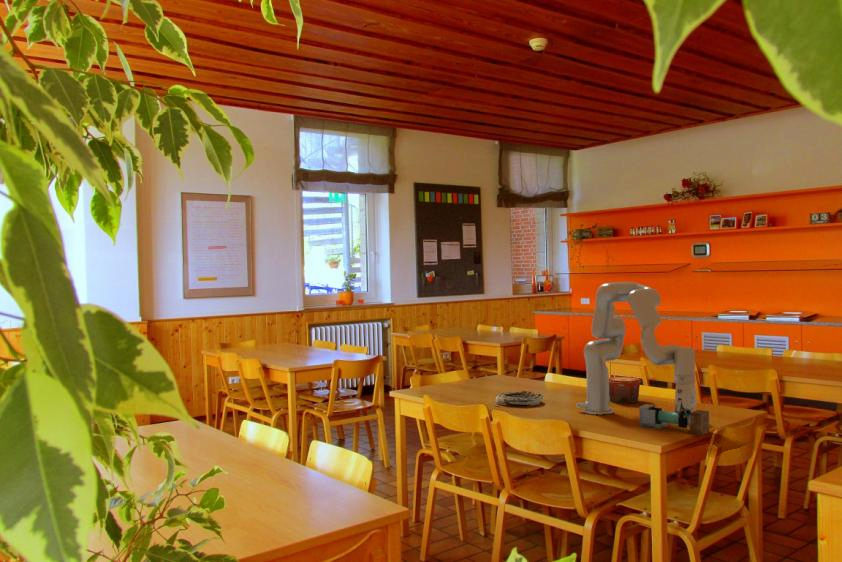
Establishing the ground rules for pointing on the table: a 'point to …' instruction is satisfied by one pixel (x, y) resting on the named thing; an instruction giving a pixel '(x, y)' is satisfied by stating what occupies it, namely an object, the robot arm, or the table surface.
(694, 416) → the socket block
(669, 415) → the tube
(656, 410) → the sleeve
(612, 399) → the food container
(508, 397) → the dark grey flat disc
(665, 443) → the table surface
